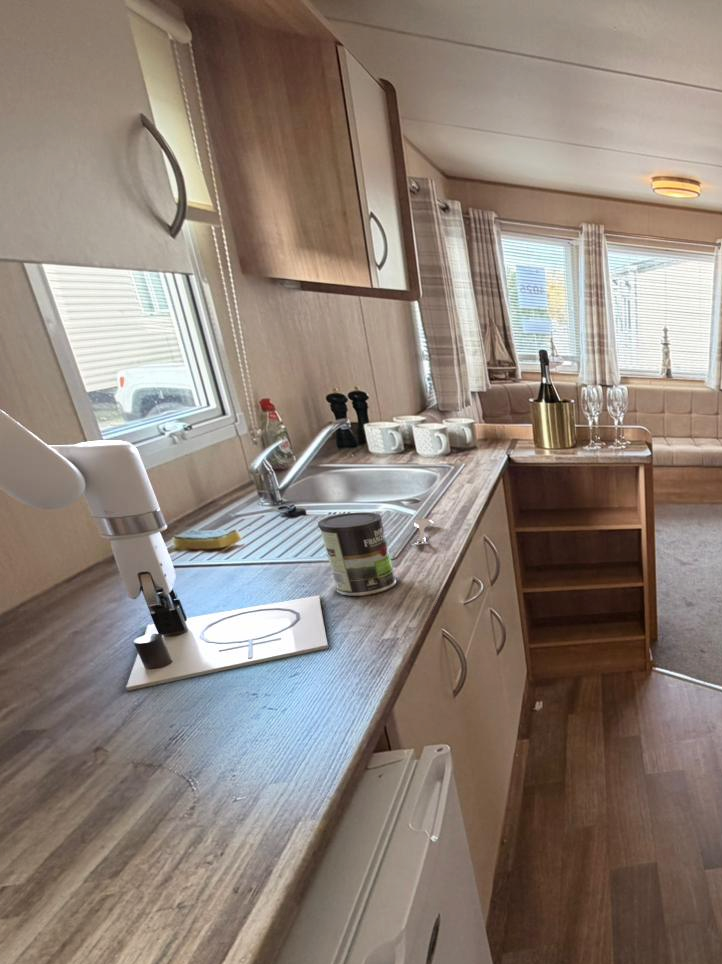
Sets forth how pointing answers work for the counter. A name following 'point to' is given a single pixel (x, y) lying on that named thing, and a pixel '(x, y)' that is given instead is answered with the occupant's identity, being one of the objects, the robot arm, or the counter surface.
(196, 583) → the counter surface
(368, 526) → the coffee can
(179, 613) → the dot
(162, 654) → the dot
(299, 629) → the board
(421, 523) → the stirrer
